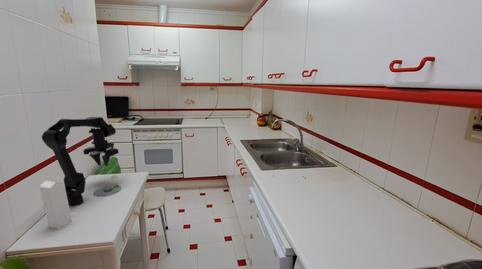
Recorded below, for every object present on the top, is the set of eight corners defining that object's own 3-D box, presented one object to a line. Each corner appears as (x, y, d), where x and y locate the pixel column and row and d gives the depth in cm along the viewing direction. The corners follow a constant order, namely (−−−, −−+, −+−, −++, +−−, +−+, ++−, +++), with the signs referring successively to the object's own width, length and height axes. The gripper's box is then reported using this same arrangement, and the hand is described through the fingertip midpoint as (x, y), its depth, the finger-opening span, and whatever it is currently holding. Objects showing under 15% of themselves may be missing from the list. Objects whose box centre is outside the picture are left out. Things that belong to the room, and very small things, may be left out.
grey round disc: (87, 197, 129) (86, 195, 128) (106, 185, 142) (106, 183, 142) (109, 199, 126) (109, 197, 125) (127, 187, 139) (127, 186, 138)
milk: (61, 219, 108) (52, 173, 104) (72, 221, 107) (63, 175, 102) (47, 227, 103) (37, 179, 98) (58, 229, 101) (48, 180, 96)
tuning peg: (108, 192, 131) (106, 182, 130) (101, 191, 132) (100, 181, 131) (120, 185, 140) (118, 175, 139) (114, 184, 141) (112, 175, 139)
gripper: (123, 136, 140) (126, 162, 143) (96, 135, 144) (100, 159, 148) (109, 141, 129) (113, 168, 133) (80, 139, 133) (85, 166, 137)
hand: (103, 165), depth 138 cm, fingers open, 4 cm apart
